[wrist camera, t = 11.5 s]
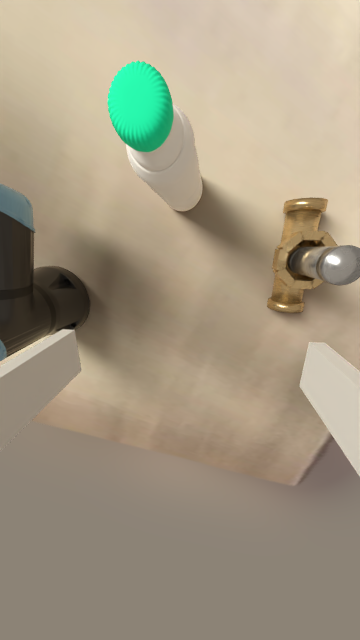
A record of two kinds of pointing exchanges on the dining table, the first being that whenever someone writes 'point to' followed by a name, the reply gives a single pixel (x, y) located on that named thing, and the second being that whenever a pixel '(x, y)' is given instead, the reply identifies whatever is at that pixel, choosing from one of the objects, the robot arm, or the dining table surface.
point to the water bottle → (155, 135)
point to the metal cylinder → (327, 263)
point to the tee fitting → (295, 234)
